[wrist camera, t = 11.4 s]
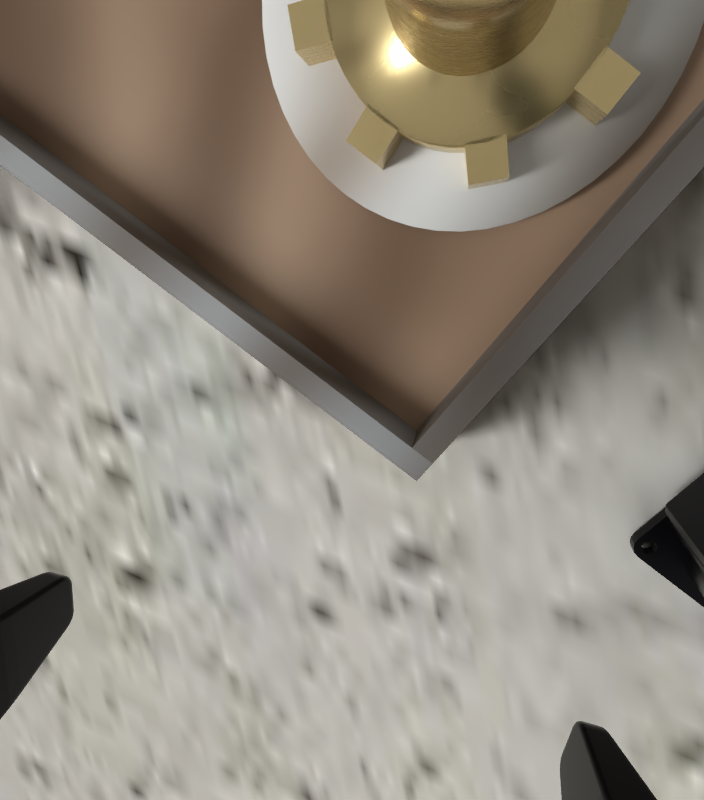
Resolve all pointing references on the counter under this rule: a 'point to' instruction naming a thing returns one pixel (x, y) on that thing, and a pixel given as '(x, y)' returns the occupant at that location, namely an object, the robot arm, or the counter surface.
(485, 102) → the gear
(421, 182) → the wooden serving tray
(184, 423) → the counter surface
